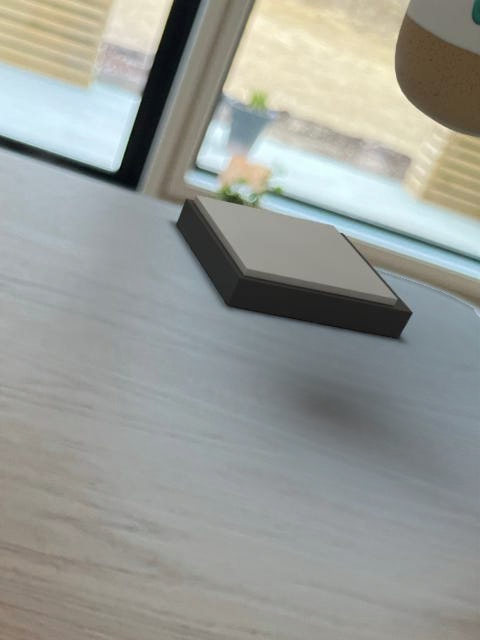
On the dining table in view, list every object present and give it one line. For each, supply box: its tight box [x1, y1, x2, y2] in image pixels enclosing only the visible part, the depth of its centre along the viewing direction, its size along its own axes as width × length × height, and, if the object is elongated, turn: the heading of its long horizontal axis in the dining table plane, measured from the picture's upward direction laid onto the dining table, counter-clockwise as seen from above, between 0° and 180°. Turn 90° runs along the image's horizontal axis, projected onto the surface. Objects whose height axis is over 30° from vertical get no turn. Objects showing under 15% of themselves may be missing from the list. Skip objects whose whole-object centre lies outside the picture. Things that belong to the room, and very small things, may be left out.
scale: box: [176, 194, 413, 339], centre depth 83 cm, size 15×14×3 cm
